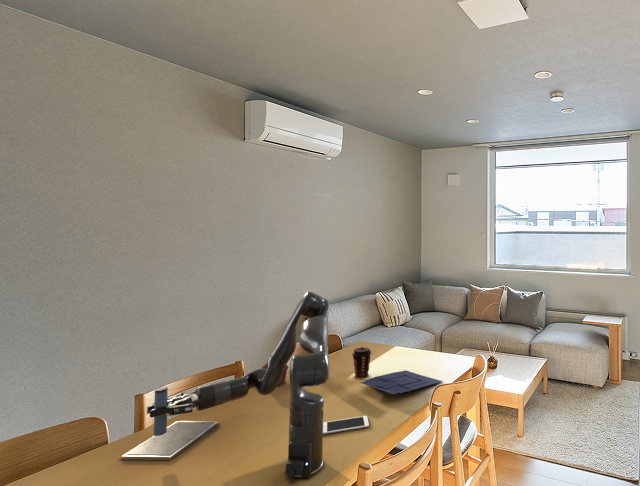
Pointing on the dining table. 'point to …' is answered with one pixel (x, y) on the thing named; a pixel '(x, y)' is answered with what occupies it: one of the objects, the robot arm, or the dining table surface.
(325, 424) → the cell phone
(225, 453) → the dining table surface
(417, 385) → the navy compartment tray
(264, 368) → the muffin
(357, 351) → the coffee cup
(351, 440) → the dining table surface
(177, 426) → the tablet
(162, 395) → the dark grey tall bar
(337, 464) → the dining table surface
